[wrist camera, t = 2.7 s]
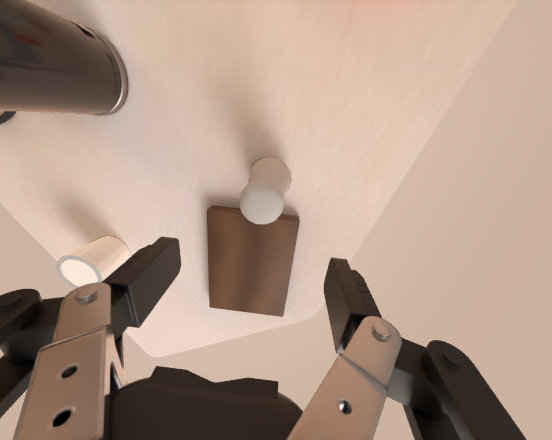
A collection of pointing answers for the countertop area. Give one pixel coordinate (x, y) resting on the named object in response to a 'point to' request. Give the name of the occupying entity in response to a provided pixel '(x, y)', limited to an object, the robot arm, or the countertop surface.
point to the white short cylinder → (92, 261)
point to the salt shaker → (265, 191)
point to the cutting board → (249, 261)
